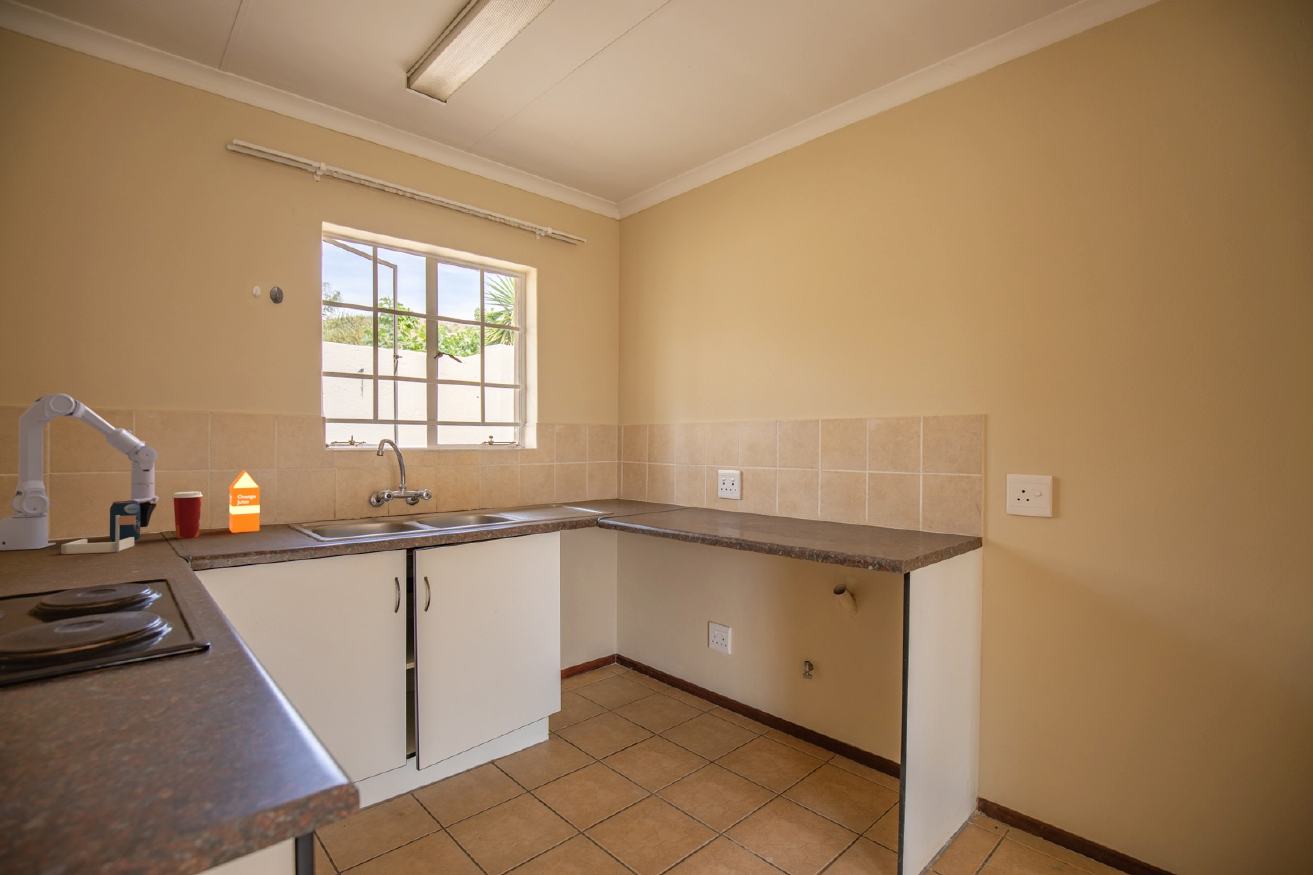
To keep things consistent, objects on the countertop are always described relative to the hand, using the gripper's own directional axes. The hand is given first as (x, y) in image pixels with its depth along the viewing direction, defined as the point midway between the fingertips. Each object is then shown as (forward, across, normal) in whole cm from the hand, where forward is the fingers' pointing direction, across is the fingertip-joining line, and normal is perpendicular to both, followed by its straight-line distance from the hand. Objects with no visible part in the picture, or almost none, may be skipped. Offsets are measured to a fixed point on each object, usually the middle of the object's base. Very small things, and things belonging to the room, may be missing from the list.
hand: (142, 526), depth 197 cm
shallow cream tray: (+3, -25, -2) cm, 26 cm away
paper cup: (+3, -6, -14) cm, 16 cm away
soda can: (+3, -11, 0) cm, 11 cm away
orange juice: (+3, +6, -26) cm, 27 cm away
